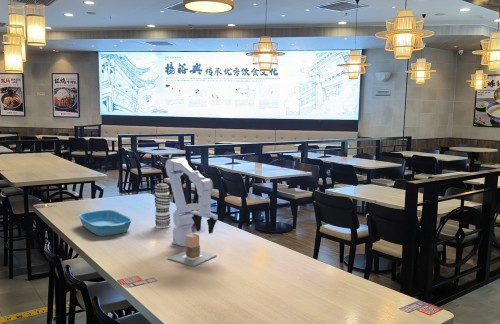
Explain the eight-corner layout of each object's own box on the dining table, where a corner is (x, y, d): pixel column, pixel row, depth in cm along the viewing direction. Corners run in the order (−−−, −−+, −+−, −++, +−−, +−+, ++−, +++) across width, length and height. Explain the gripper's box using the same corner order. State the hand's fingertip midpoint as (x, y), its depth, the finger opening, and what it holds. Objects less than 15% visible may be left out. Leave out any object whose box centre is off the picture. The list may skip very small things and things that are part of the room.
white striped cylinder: (155, 228, 244) (154, 185, 240) (154, 224, 253) (153, 183, 249) (171, 227, 246) (170, 185, 243) (170, 223, 255) (169, 182, 252)
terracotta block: (185, 245, 198) (185, 235, 197) (192, 243, 201) (192, 233, 200) (191, 248, 195) (191, 237, 194) (199, 245, 198) (199, 235, 197)
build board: (167, 259, 196) (167, 257, 196) (191, 249, 209) (191, 248, 209) (193, 266, 187) (193, 265, 187) (216, 256, 201) (216, 254, 200)
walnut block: (186, 255, 199) (186, 245, 198) (193, 253, 202) (193, 243, 201) (192, 258, 196) (192, 247, 195) (199, 255, 199) (199, 245, 198)
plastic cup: (186, 228, 245) (186, 208, 243) (184, 223, 255) (184, 204, 254) (205, 227, 248) (205, 207, 246) (202, 222, 258) (202, 203, 257)
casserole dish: (137, 232, 237) (137, 220, 236) (98, 240, 222) (97, 227, 221) (111, 218, 264) (110, 207, 263) (74, 225, 250) (73, 213, 249)
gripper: (221, 204, 202) (221, 232, 204) (198, 200, 210) (198, 227, 212) (212, 207, 196) (212, 236, 198) (188, 203, 204) (189, 230, 206)
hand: (204, 231), depth 204 cm, fingers open, 7 cm apart
